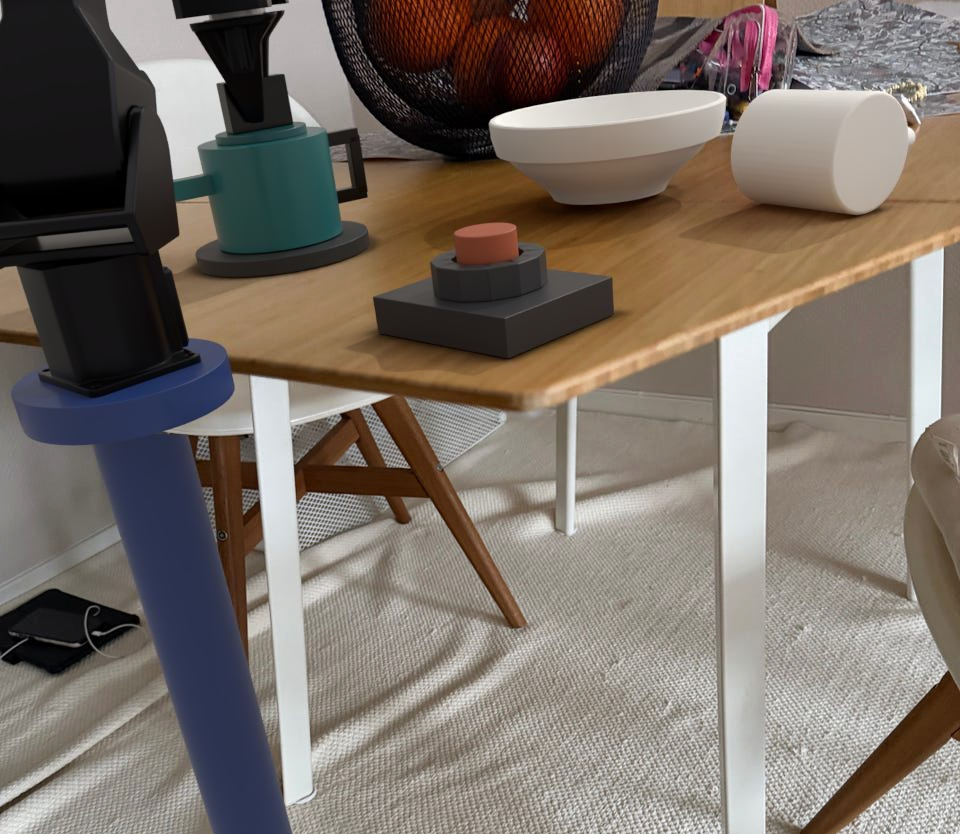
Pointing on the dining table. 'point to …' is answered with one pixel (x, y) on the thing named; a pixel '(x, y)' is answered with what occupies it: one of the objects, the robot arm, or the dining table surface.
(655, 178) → the bowl
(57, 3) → the robot arm
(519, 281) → the switch block
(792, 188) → the mug
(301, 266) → the kettle base
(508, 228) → the switch
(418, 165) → the dining table surface
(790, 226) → the dining table surface
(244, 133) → the kettle
